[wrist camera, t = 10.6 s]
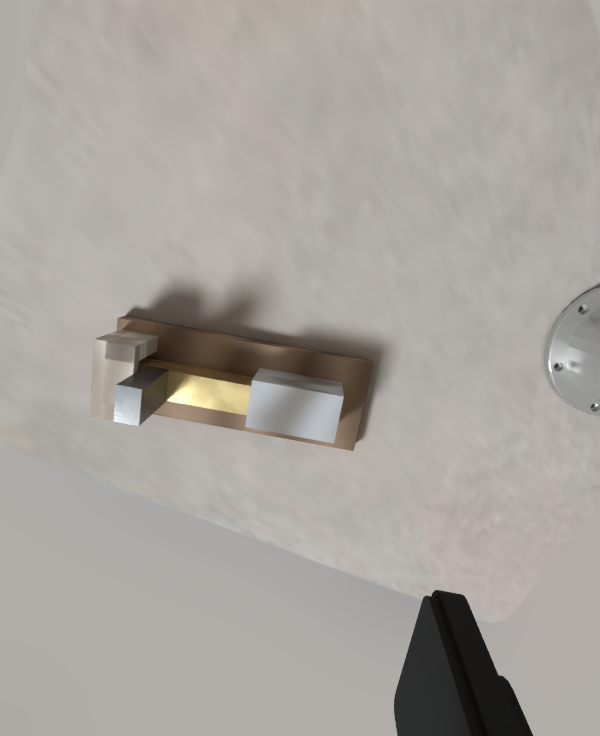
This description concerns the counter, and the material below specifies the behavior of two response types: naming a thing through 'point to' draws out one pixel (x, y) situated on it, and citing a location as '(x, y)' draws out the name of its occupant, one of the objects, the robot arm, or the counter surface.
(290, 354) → the sliding bolt latch
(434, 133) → the counter surface
